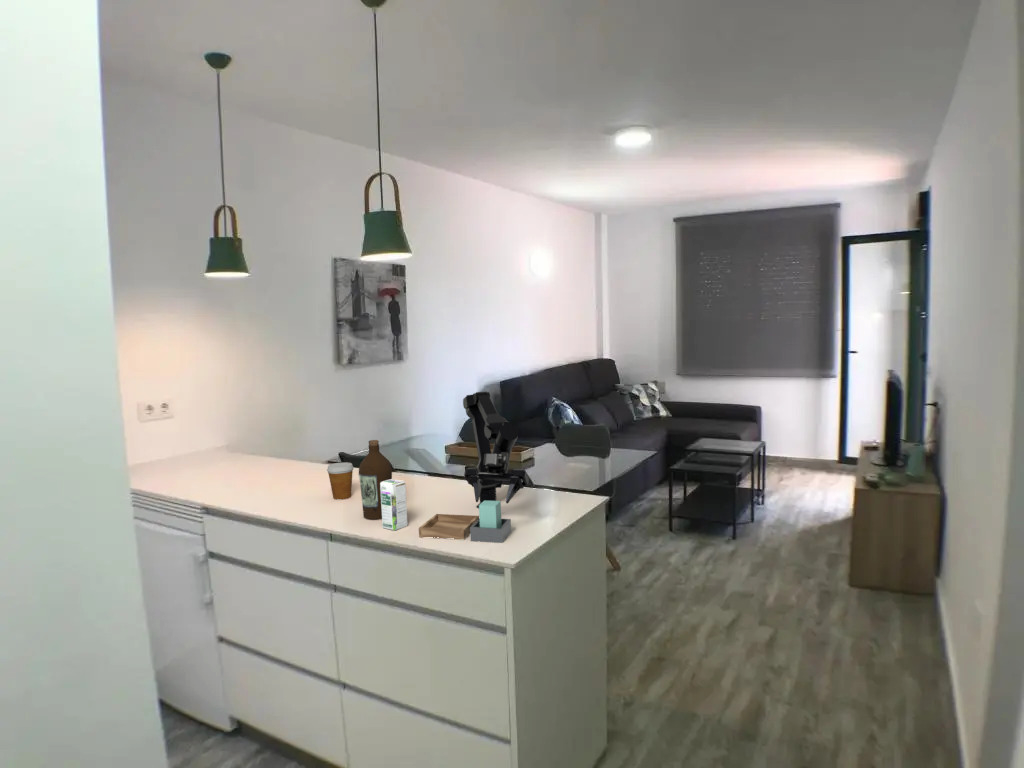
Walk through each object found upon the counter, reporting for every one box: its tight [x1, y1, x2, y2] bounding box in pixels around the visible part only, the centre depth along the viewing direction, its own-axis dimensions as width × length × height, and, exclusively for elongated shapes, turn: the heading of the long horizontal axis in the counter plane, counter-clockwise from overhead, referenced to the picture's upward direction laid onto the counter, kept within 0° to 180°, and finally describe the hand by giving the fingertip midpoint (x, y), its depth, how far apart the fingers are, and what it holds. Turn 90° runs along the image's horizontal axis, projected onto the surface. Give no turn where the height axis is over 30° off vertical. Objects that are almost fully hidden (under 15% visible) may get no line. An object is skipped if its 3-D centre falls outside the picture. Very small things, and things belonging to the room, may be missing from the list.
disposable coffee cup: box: [326, 462, 355, 500], centre depth 245 cm, size 10×10×12 cm
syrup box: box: [380, 478, 408, 531], centre depth 207 cm, size 6×6×14 cm
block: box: [478, 500, 502, 528], centre depth 195 cm, size 5×5×10 cm
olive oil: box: [358, 439, 393, 521], centre depth 219 cm, size 11×11×25 cm
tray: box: [418, 513, 480, 540], centre depth 202 cm, size 14×14×3 cm
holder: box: [469, 518, 512, 544], centre depth 195 cm, size 9×9×4 cm
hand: (491, 502), depth 195 cm, fingers open, 9 cm apart
